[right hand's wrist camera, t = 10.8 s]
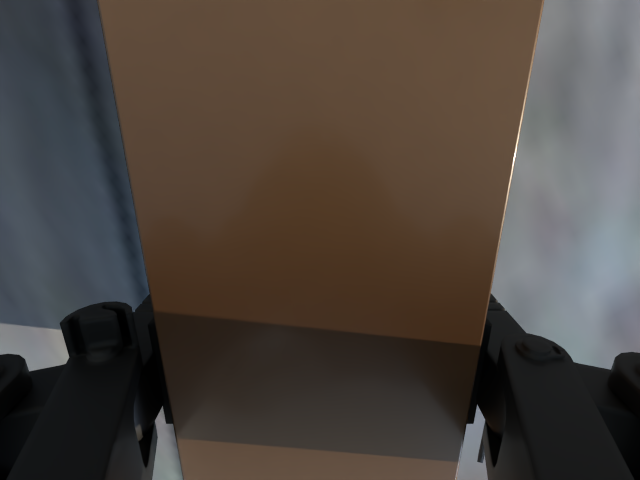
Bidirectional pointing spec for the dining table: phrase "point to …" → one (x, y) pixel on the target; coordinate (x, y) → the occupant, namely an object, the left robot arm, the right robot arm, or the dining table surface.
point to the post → (320, 220)
